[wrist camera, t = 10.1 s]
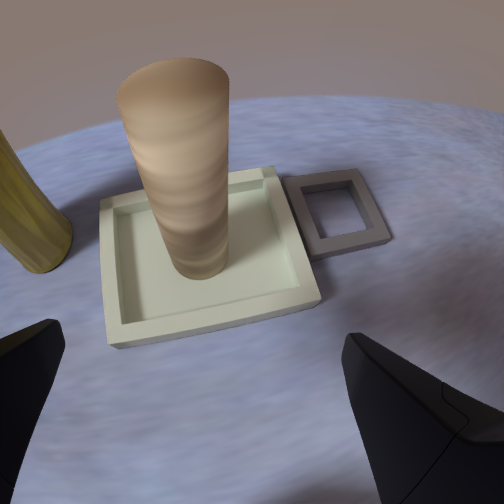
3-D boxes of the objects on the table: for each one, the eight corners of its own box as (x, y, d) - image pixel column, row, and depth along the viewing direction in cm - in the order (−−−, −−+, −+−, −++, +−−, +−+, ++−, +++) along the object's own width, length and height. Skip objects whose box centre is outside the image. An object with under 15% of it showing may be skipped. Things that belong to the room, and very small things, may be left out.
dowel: (239, 261, 24) (252, 93, 11) (188, 291, 23) (137, 138, 9) (209, 219, 26) (197, 48, 12) (161, 245, 24) (104, 82, 11)
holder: (385, 243, 27) (391, 237, 25) (307, 262, 25) (311, 255, 24) (353, 176, 30) (357, 168, 29) (280, 186, 28) (282, 178, 27)
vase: (61, 203, 26) (-7, 90, 14) (82, 249, 25) (-4, 131, 12) (15, 238, 24) (-70, 143, 12) (31, 287, 23) (-77, 196, 10)
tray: (314, 307, 24) (321, 298, 22) (118, 349, 21) (108, 344, 19) (271, 181, 29) (273, 165, 27) (107, 213, 26) (99, 199, 24)
